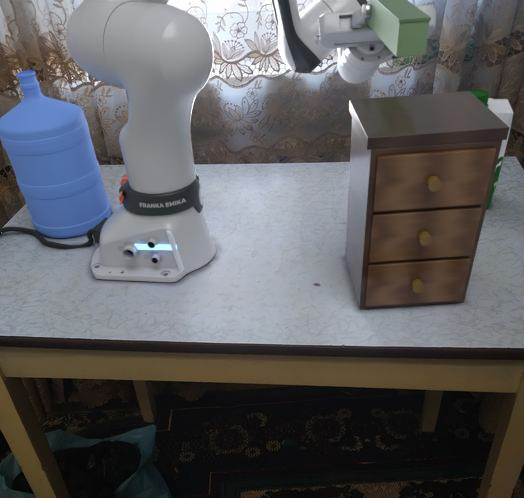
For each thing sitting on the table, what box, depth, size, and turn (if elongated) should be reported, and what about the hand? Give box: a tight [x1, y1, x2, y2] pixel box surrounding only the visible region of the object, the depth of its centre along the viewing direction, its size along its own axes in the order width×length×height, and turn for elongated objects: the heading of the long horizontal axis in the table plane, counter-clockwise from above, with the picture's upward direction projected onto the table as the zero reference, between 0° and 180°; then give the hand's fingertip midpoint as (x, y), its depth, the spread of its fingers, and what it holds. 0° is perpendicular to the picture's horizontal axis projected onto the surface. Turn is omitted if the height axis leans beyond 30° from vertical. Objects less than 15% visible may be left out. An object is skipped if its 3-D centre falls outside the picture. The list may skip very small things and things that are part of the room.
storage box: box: [366, 0, 431, 58], centre depth 80 cm, size 4×24×4 cm, turn 1°
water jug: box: [0, 69, 112, 239], centre depth 99 cm, size 16×16×28 cm
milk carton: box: [468, 89, 514, 210], centre depth 98 cm, size 9×9×20 cm
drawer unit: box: [345, 90, 509, 310], centre depth 77 cm, size 17×17×26 cm
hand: (384, 7), depth 85 cm, fingers closed on storage box, 4 cm apart
